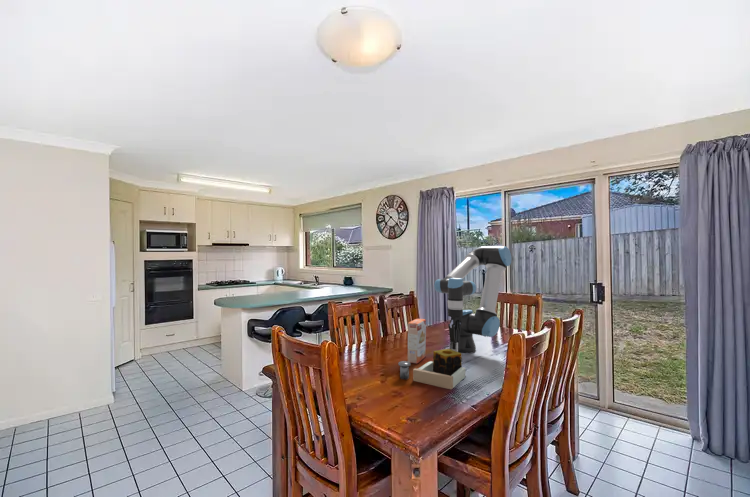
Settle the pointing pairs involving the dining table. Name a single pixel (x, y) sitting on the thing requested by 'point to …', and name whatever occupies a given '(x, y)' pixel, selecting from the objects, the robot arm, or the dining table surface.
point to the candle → (446, 361)
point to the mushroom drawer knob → (404, 369)
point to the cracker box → (416, 340)
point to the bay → (437, 376)
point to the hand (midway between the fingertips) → (454, 355)
